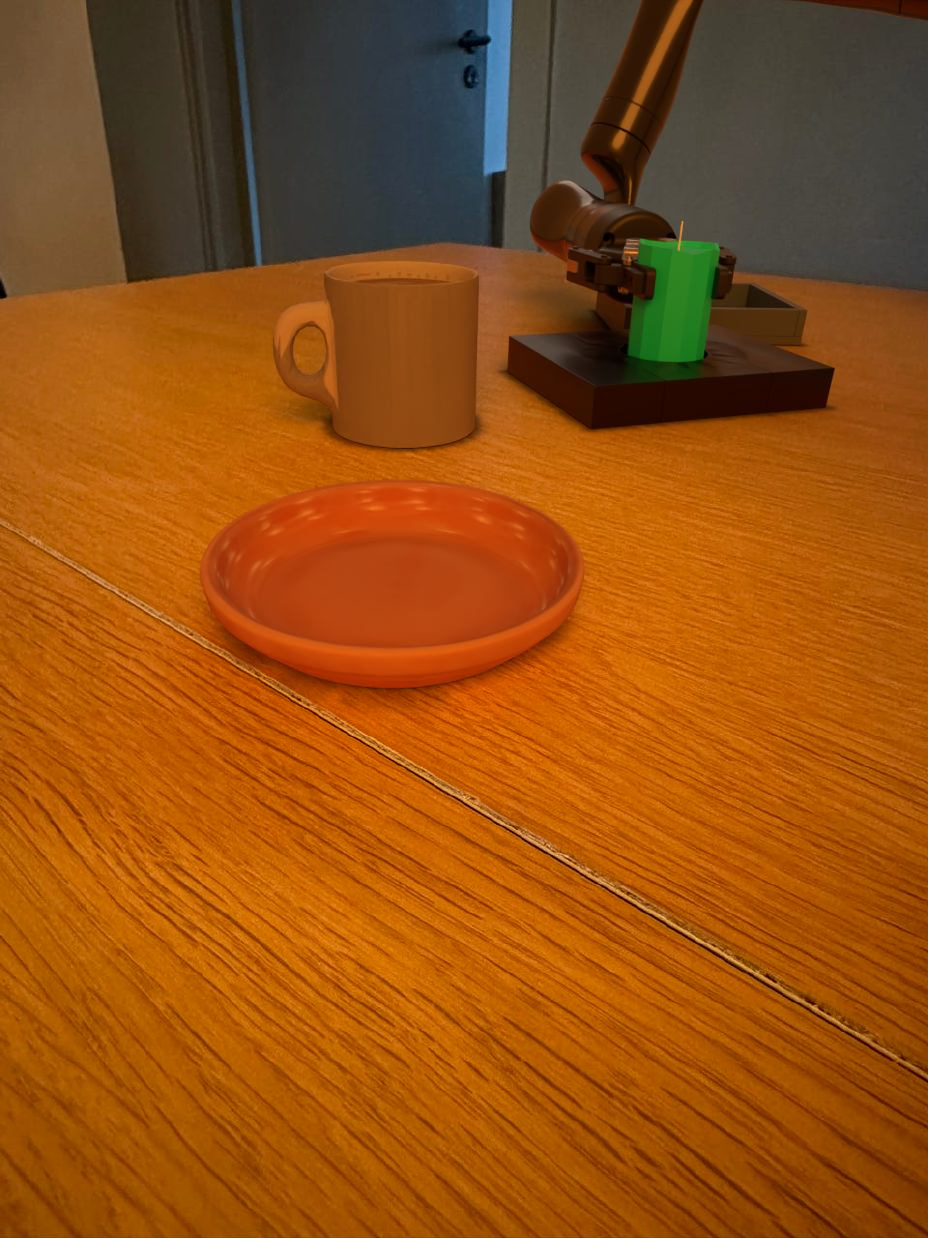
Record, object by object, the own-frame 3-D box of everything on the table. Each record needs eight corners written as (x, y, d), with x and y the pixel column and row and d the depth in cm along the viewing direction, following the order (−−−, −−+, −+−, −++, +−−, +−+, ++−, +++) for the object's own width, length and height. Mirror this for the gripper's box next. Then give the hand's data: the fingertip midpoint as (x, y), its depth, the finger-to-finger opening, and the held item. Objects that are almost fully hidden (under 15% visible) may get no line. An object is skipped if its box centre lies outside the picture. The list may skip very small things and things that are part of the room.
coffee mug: (469, 403, 65) (472, 261, 60) (481, 447, 57) (485, 285, 52) (289, 403, 64) (277, 259, 59) (273, 448, 56) (258, 284, 51)
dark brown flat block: (709, 357, 79) (715, 324, 78) (826, 407, 66) (835, 367, 65) (507, 371, 74) (508, 335, 72) (590, 429, 60) (595, 386, 59)
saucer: (616, 711, 32) (626, 641, 30) (172, 725, 31) (158, 653, 29) (546, 530, 46) (550, 476, 44) (237, 534, 44) (231, 479, 43)
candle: (615, 389, 68) (633, 222, 62) (631, 370, 73) (649, 214, 67) (692, 398, 66) (718, 227, 60) (703, 379, 71) (729, 219, 65)
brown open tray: (749, 313, 98) (754, 282, 96) (800, 345, 85) (808, 309, 83) (595, 311, 97) (598, 280, 96) (622, 342, 84) (626, 307, 82)
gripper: (547, 204, 75) (596, 229, 61) (705, 205, 77) (790, 229, 62) (541, 295, 79) (587, 338, 64) (692, 294, 81) (770, 336, 66)
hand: (686, 284), depth 63 cm, fingers closed on candle, 5 cm apart
